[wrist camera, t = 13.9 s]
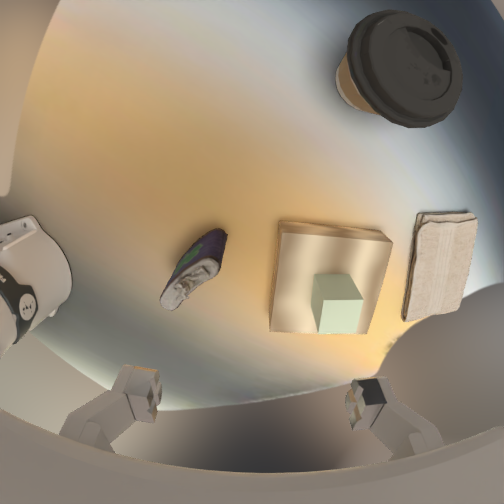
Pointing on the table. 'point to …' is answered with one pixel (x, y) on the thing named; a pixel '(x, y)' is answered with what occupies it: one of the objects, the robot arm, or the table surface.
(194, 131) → the table surface
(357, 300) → the sage block
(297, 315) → the birch block
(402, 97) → the coffee cup
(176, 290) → the dark blue flattened pouch
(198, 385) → the table surface
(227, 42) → the table surface
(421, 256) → the washcloth
